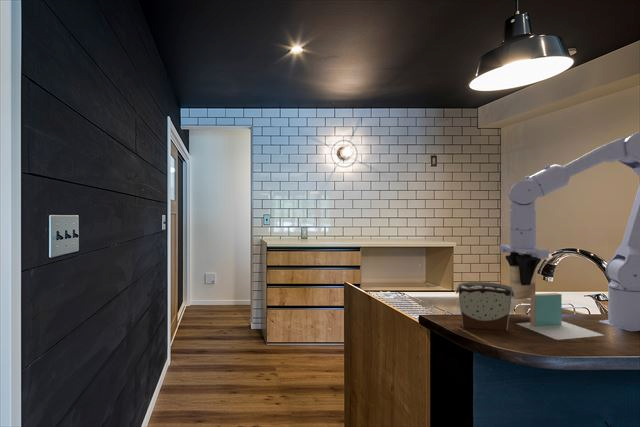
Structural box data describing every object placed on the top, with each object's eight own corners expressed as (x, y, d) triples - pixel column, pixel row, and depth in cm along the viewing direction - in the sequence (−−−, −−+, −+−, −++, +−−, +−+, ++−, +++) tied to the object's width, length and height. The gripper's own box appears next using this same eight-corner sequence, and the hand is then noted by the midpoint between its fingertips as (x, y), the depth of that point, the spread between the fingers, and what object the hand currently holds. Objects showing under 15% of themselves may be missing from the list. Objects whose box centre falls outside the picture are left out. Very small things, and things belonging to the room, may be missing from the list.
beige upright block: (530, 296, 102) (530, 265, 102) (535, 298, 100) (535, 266, 100) (510, 298, 100) (509, 266, 100) (514, 299, 99) (514, 267, 99)
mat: (559, 322, 97) (559, 320, 97) (604, 337, 85) (604, 335, 85) (515, 325, 94) (515, 323, 94) (556, 342, 82) (556, 339, 82)
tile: (556, 322, 95) (556, 293, 94) (561, 324, 93) (561, 294, 93) (530, 324, 93) (530, 294, 93) (535, 326, 91) (535, 296, 91)
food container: (509, 325, 95) (509, 282, 94) (514, 333, 89) (514, 287, 89) (454, 321, 98) (454, 280, 98) (455, 328, 92) (455, 285, 92)
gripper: (490, 228, 106) (490, 279, 106) (530, 231, 92) (530, 290, 92) (513, 228, 108) (513, 278, 108) (556, 231, 94) (556, 289, 94)
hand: (522, 284), depth 100 cm, fingers closed on beige upright block, 2 cm apart
